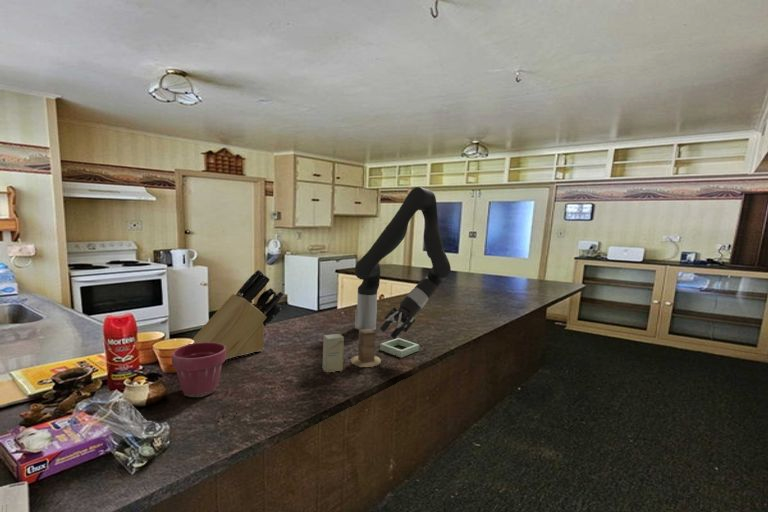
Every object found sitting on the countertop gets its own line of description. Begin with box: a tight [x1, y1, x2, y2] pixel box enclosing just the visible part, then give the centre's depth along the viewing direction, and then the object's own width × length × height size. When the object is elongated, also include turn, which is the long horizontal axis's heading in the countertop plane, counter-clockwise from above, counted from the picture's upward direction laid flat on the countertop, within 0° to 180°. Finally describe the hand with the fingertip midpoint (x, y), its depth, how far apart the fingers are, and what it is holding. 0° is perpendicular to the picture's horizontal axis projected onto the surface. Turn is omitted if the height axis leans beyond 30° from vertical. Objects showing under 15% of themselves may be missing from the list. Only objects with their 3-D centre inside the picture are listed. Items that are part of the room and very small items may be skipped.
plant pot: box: [171, 342, 227, 394], centre depth 109 cm, size 14×14×13 cm
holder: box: [379, 337, 420, 359], centre depth 149 cm, size 11×11×2 cm
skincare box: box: [321, 333, 345, 373], centre depth 127 cm, size 6×4×12 cm
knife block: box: [191, 269, 285, 358], centre depth 138 cm, size 11×35×31 cm, turn 136°
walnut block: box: [357, 329, 376, 363], centre depth 136 cm, size 4×4×11 cm
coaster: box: [350, 355, 382, 368], centre depth 136 cm, size 11×11×1 cm
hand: (386, 333), depth 139 cm, fingers open, 8 cm apart
